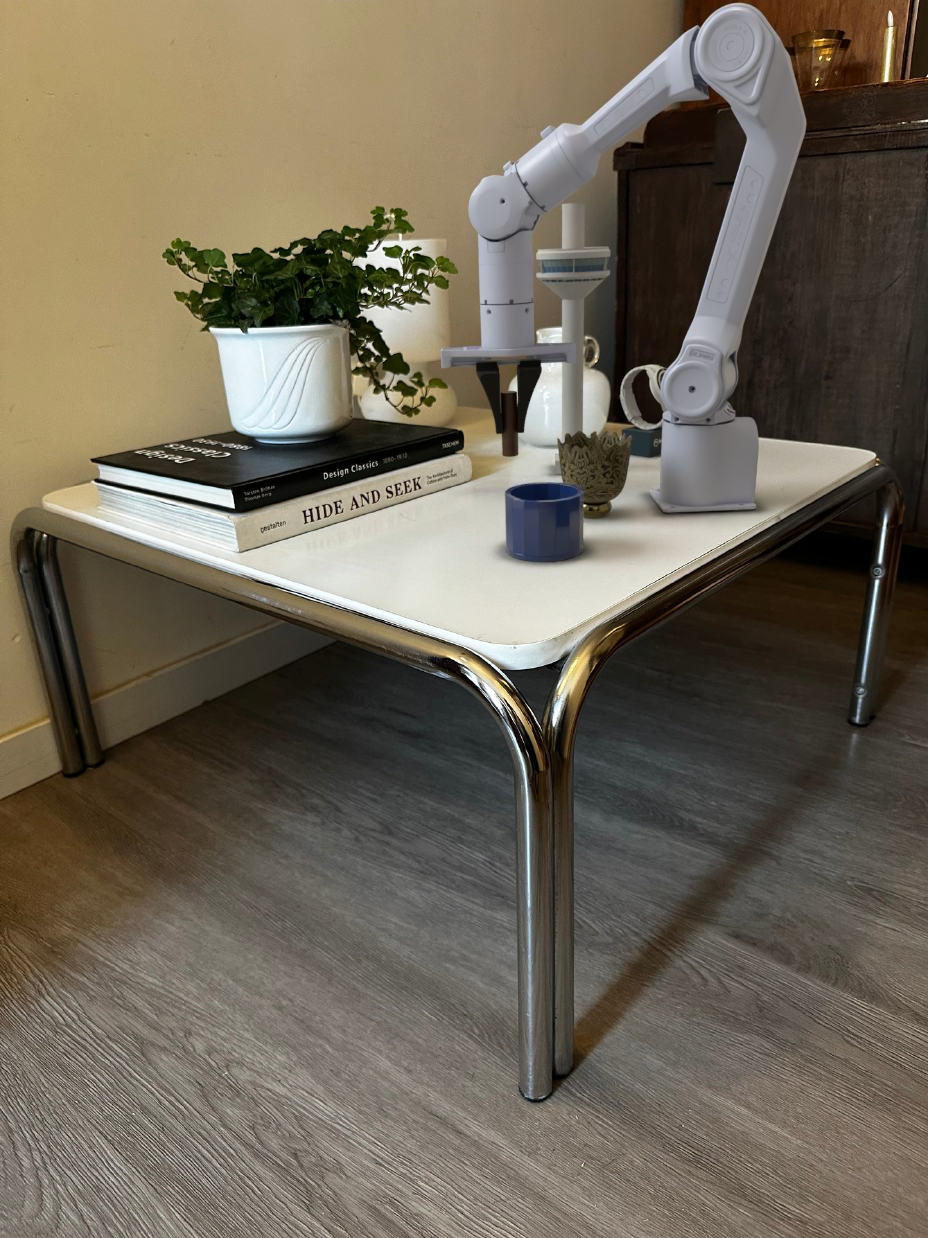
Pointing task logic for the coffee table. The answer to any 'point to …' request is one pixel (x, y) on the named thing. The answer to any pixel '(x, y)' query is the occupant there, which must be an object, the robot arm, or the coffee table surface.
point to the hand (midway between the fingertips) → (510, 431)
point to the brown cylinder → (509, 423)
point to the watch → (643, 433)
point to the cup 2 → (595, 468)
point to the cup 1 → (544, 521)
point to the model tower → (572, 303)
